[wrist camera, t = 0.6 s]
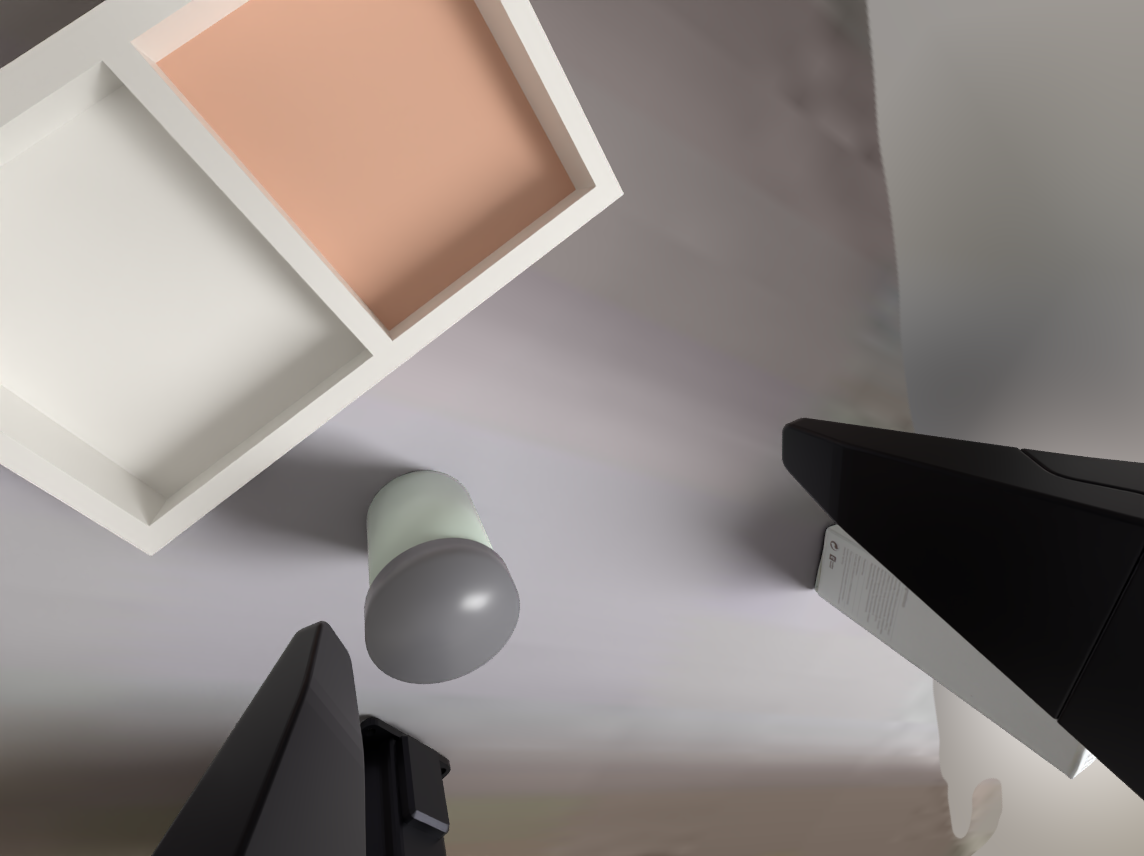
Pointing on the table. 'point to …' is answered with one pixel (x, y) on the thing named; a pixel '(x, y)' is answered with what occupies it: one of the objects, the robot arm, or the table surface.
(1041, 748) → the skincare box
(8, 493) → the table surface
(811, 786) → the table surface
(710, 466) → the table surface
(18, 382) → the sorting tray
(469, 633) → the grey mushroom
